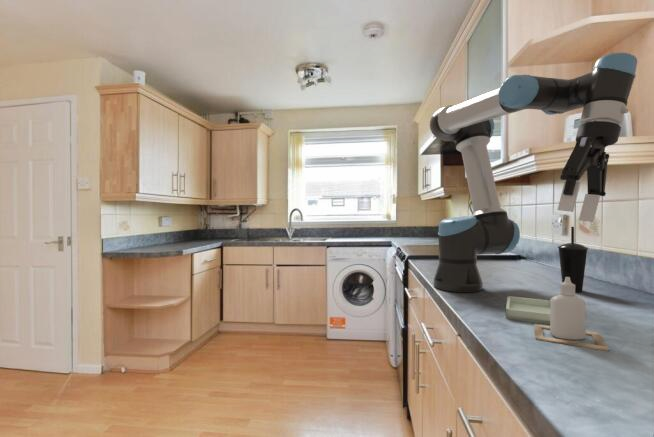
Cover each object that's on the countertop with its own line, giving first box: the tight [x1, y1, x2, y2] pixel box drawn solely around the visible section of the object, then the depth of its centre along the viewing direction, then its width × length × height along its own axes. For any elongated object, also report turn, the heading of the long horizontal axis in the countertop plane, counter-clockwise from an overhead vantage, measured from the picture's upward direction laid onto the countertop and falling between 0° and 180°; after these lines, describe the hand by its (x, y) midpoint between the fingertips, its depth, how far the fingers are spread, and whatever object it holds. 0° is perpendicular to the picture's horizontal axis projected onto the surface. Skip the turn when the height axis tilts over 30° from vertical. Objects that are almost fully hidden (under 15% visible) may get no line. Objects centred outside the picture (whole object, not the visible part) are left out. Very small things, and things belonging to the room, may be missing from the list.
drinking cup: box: [557, 226, 589, 293], centre depth 100 cm, size 8×8×20 cm
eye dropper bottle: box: [549, 277, 587, 341], centre depth 64 cm, size 4×6×12 cm
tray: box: [505, 295, 551, 326], centre depth 78 cm, size 10×13×2 cm
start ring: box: [533, 323, 610, 352], centre depth 64 cm, size 11×9×1 cm
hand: (576, 216), depth 74 cm, fingers open, 13 cm apart
